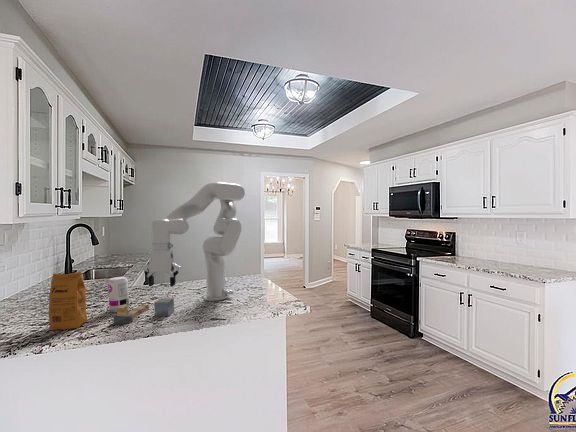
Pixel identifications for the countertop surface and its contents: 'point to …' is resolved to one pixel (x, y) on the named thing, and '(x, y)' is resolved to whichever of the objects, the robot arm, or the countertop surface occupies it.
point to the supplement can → (118, 293)
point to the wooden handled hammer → (128, 314)
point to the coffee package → (67, 301)
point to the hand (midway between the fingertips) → (162, 285)
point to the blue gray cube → (164, 307)
